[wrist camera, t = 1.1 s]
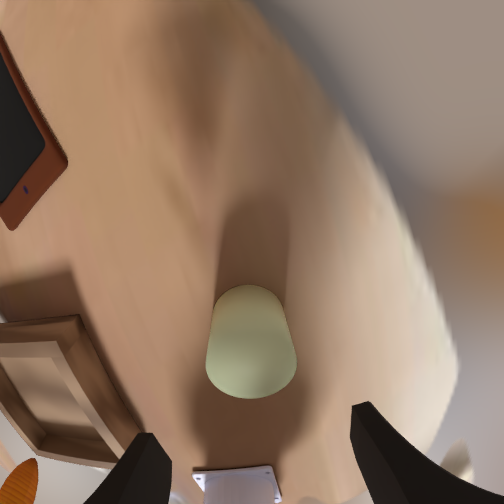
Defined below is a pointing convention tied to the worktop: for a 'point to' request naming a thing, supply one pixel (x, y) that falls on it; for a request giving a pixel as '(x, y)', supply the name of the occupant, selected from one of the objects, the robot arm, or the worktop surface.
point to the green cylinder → (250, 344)
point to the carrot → (21, 484)
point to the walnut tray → (61, 393)
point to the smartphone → (23, 147)
